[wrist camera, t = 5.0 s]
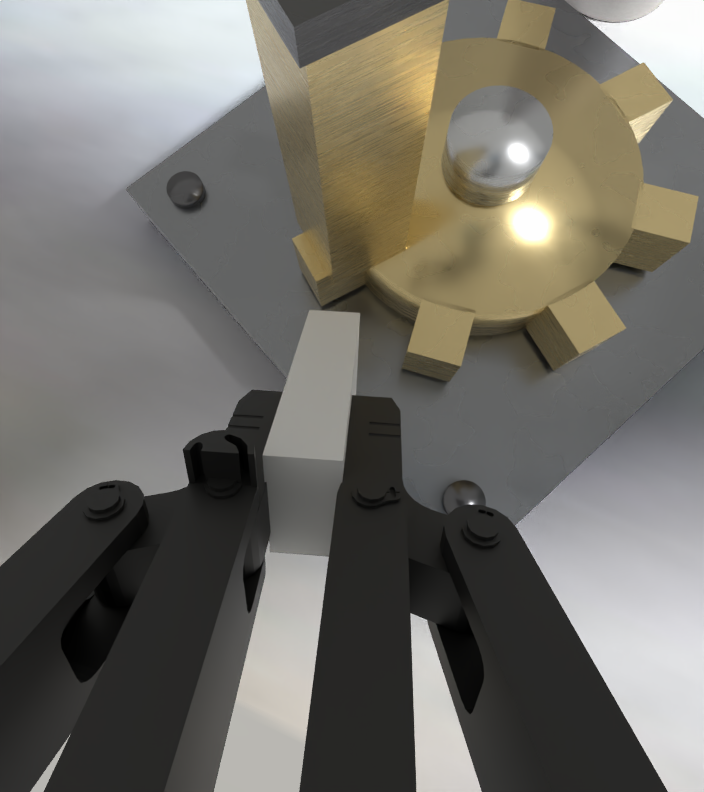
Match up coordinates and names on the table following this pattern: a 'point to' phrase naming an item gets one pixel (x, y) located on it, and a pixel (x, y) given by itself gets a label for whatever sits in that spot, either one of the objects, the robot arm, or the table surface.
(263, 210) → the steel plate
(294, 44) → the brass gear wheel
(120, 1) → the table surface
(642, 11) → the coffee cup
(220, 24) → the table surface
